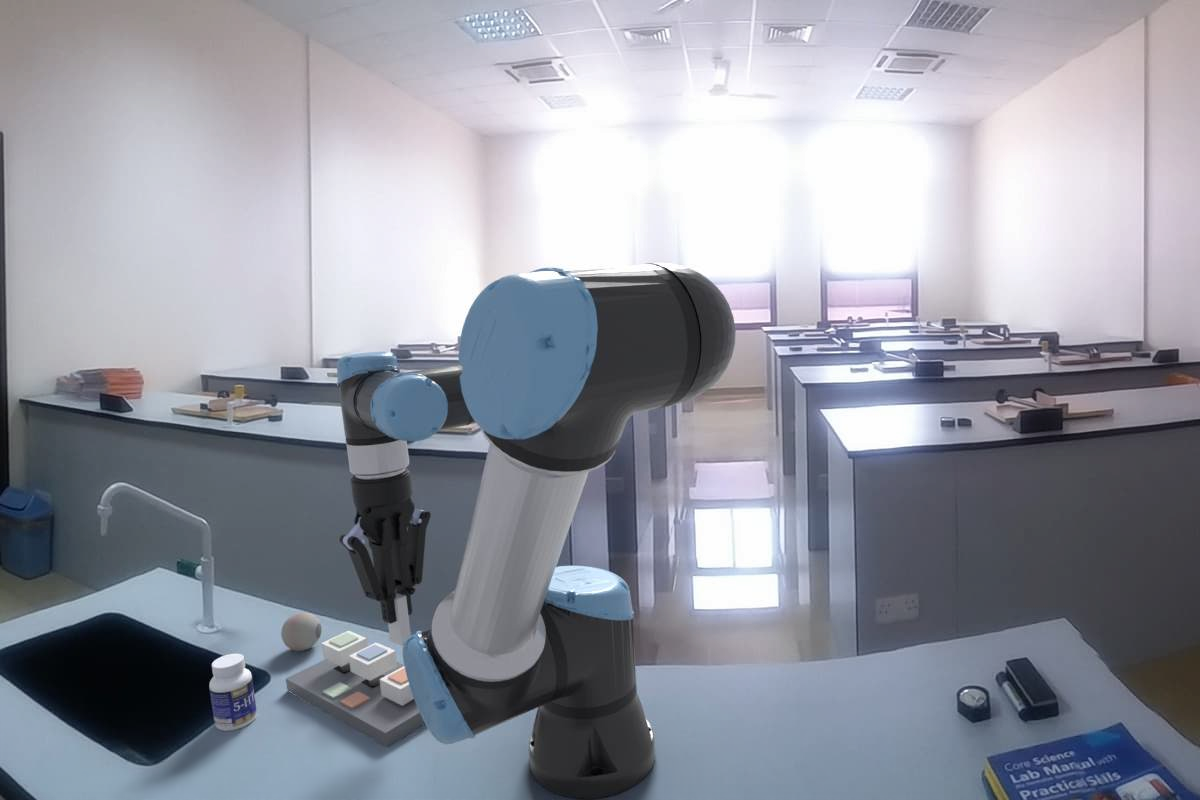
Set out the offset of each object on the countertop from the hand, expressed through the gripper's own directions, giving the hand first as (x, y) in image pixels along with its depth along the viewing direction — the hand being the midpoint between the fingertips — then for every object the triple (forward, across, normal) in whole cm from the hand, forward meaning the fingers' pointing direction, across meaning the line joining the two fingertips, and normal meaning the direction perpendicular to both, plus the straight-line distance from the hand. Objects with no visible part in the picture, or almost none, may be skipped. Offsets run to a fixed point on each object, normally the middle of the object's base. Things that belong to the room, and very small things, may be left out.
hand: (400, 641), depth 104 cm
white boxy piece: (+8, 0, -8) cm, 11 cm away
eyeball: (+10, -2, -30) cm, 31 cm away
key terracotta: (+10, 0, -1) cm, 10 cm away
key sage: (+8, 0, -15) cm, 17 cm away
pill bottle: (+10, +15, -19) cm, 26 cm away
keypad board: (+10, +1, -8) cm, 13 cm away
